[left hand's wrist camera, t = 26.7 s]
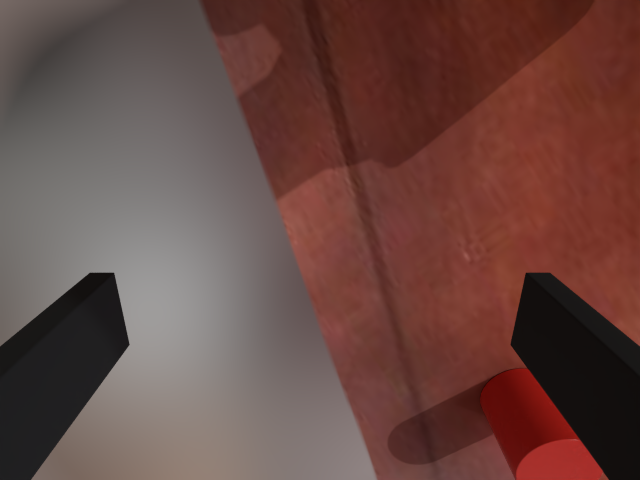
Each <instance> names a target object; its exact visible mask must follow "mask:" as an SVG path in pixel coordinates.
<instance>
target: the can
mask: <svg viewBox="0 0 640 480" xmlns="http://www.w3.org/2000/svg"><path fill="white" fill-rule="evenodd" d="M480 404H481V408H482V410H483V412H484V414H485V416H486V418H487V420H488V422H489V425H490V427H491V429H492V431H493V433H494V435H495V437H496V439H497V442H498V444H499V446H500V448H501V450H502V452H503V454H504V456H505V459H506V461H507V463H508V465H509V467H510V469H511V471H512V473H513V476H514V478H515V480H598V479H599V478H600V477H601V475H602V473H603V471H602V469H601V468H600V467H599V465H598V464H597V462H596V461H595V460H594V458H593V457H592V456H591V454H590V453H589V451H588V450H587V449H586V447H585V446H584V445H583V443H582V442H581V441H580V439H579V438H578V436H577V435H576V434H575V432H574V431H573V430H572V428H571V427H570V425H569V424H568V423H567V421H566V420H565V419H564V417H563V416H562V415H561V413H560V412H559V410H558V409H557V408H556V406H555V405H554V404H553V402H552V401H551V399H550V398H549V397H548V395H547V394H546V393H545V391H544V390H543V389H542V387H541V386H540V384H539V383H538V382H537V380H536V379H535V378H534V376H533V375H532V373H531V372H530V371H529V369H512V370H508V371H505V372H503V373H500V374H498V375H497V376H495V377H494V378H492V379H491V380H490V381H489V382H488V383H487V384H486V385H485V387H484V388H483V390H482V393H481V396H480Z"/></svg>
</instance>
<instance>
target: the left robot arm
mask: <svg viewBox="0 0 640 480" xmlns="http://www.w3.org/2000/svg"><path fill="white" fill-rule="evenodd" d="M128 346H129V340H128V335H127V331H126V326H125V322H124V317H123V312H122V307H121V303H120V298H119V294H118V289H117V284H116V279H115V275H114V273H89V274H88V275H87V276H85V277H84V278H83V279H82V280H81V281H79V282H78V283H77V284H76V285H75V286H73V287H72V288H71V289H70V290H68V291H67V292H66V293H65V294H64V295H62V296H61V297H60V298H59V299H58V300H56V301H55V302H54V303H53V304H51V305H50V306H49V307H48V308H47V309H45V310H44V311H43V312H42V313H40V314H39V315H38V316H37V317H36V318H34V319H33V320H32V321H31V322H30V323H28V324H27V325H26V326H25V327H23V328H22V329H21V330H20V331H19V332H17V333H16V334H15V335H14V336H12V337H11V338H10V339H9V340H8V341H6V342H5V343H4V344H3V345H1V346H0V480H31V479H32V477H33V476H34V475H35V473H36V472H37V471H38V469H39V468H40V466H41V465H42V464H43V462H44V461H45V460H46V458H47V457H48V456H49V454H50V453H51V451H52V450H53V449H54V447H55V446H56V445H57V443H58V442H59V441H60V439H61V438H62V436H63V435H64V434H65V432H66V431H67V429H68V428H69V427H70V425H71V424H72V423H73V421H74V420H75V419H76V417H77V416H78V414H79V413H80V412H81V410H82V409H83V408H84V406H85V405H86V403H87V402H88V401H89V399H90V398H91V397H92V395H93V394H94V393H95V391H96V390H97V389H98V387H99V386H100V384H101V383H102V382H103V380H104V379H105V377H106V376H107V375H108V373H109V372H110V371H111V369H112V368H113V367H114V365H115V364H116V362H117V361H118V360H119V358H120V357H121V356H122V354H123V353H124V351H125V350H126V349H127V347H128ZM511 346H512V347H513V349H514V350H515V352H516V353H517V354H518V356H519V357H520V358H521V360H522V361H523V362H524V364H525V365H526V367H527V368H528V369H529V371H530V372H531V373H532V375H533V376H534V378H535V379H536V380H537V382H538V383H539V384H540V386H541V387H542V389H543V390H544V391H545V393H546V394H547V395H548V397H549V398H550V399H551V401H552V402H553V404H554V405H555V406H556V408H557V409H558V410H559V412H560V413H561V415H562V416H563V417H564V419H565V420H566V421H567V423H568V424H569V425H570V427H571V428H572V430H573V431H574V432H575V434H576V435H577V436H578V438H579V439H580V441H581V442H582V443H583V445H584V446H585V447H586V449H587V450H588V451H589V453H590V454H591V456H592V457H593V458H594V460H595V461H596V462H597V464H598V465H599V467H600V468H601V469H602V471H603V472H604V473H605V475H606V476H607V477H608V479H609V480H640V346H639V345H637V344H636V343H635V342H634V341H632V340H631V339H630V338H629V337H628V336H626V335H625V334H624V333H623V332H621V331H620V330H619V329H618V328H617V327H615V326H614V325H613V324H612V323H611V322H609V321H608V320H607V319H606V318H604V317H603V316H602V315H601V314H600V313H598V312H597V311H596V310H595V309H593V308H592V307H591V306H590V305H589V304H587V303H586V302H585V301H584V300H583V299H581V298H580V297H579V296H578V295H576V294H575V293H574V292H573V291H572V290H570V289H569V288H568V287H567V286H565V285H564V284H563V283H562V282H561V281H559V280H558V279H557V278H556V277H555V276H553V275H552V274H551V273H526V275H525V279H524V284H523V289H522V293H521V298H520V303H519V307H518V312H517V317H516V321H515V326H514V331H513V335H512V340H511Z"/></svg>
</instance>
